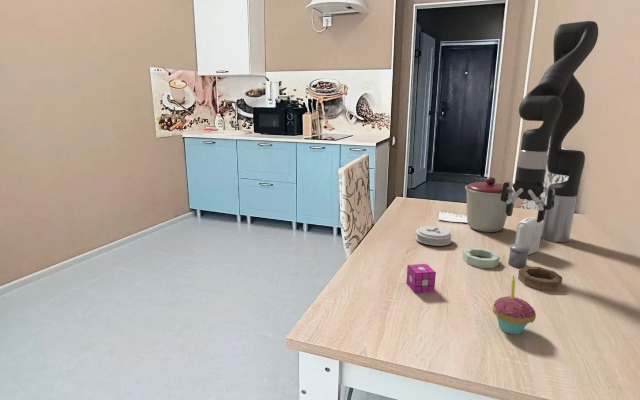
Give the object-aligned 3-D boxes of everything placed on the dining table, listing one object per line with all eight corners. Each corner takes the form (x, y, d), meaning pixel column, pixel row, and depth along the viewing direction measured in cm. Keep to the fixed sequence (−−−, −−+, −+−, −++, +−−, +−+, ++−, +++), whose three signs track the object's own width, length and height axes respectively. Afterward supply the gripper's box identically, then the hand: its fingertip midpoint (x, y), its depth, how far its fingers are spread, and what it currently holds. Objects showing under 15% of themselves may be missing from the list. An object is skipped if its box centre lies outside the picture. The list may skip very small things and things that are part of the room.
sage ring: (472, 252, 131) (473, 245, 130) (502, 261, 124) (503, 254, 123) (458, 260, 124) (458, 253, 124) (489, 270, 117) (489, 262, 116)
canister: (512, 226, 159) (519, 176, 154) (505, 239, 144) (513, 183, 139) (466, 219, 168) (471, 171, 163) (456, 230, 154) (461, 178, 148)
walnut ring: (526, 271, 117) (528, 263, 116) (564, 282, 110) (565, 274, 109) (513, 281, 110) (515, 273, 109) (552, 294, 103) (554, 285, 102)
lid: (447, 236, 147) (448, 224, 146) (454, 249, 135) (456, 235, 133) (413, 235, 148) (414, 222, 147) (417, 247, 136) (418, 233, 135)
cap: (511, 260, 125) (514, 242, 124) (529, 265, 121) (532, 247, 120) (504, 264, 122) (507, 246, 120) (522, 270, 118) (525, 251, 116)
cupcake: (483, 318, 91) (489, 271, 88) (518, 317, 92) (525, 270, 89) (503, 340, 83) (510, 289, 80) (541, 339, 83) (550, 288, 80)
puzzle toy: (425, 282, 109) (426, 263, 108) (434, 291, 104) (436, 272, 102) (406, 283, 108) (407, 264, 107) (414, 293, 103) (415, 273, 102)
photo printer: (527, 247, 136) (533, 213, 133) (540, 251, 133) (545, 217, 130) (511, 253, 131) (516, 218, 128) (523, 257, 127) (529, 221, 124)
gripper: (562, 167, 111) (553, 221, 115) (511, 161, 121) (504, 211, 125) (554, 170, 106) (545, 226, 110) (501, 164, 116) (495, 215, 120)
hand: (523, 218), depth 118 cm, fingers open, 8 cm apart
